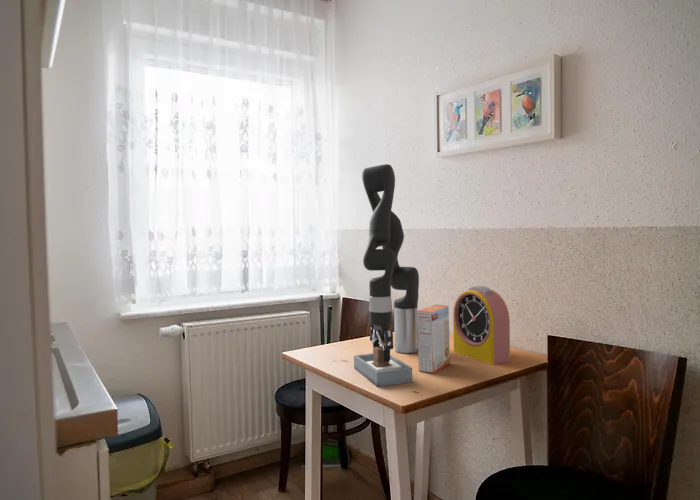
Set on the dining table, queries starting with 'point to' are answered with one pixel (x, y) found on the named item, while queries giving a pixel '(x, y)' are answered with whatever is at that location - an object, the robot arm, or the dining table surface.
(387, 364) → the peg
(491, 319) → the alarm clock
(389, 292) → the robot arm
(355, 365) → the walled box
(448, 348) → the cracker box
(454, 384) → the dining table surface
